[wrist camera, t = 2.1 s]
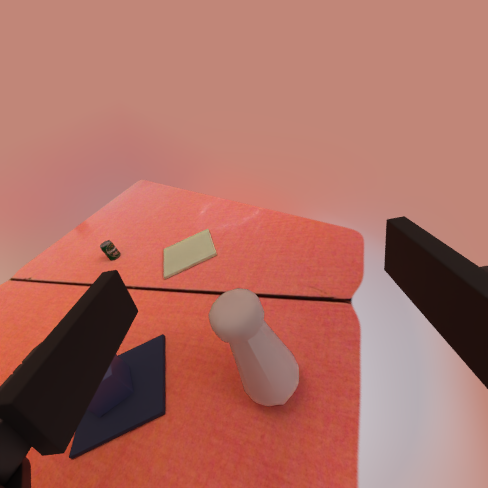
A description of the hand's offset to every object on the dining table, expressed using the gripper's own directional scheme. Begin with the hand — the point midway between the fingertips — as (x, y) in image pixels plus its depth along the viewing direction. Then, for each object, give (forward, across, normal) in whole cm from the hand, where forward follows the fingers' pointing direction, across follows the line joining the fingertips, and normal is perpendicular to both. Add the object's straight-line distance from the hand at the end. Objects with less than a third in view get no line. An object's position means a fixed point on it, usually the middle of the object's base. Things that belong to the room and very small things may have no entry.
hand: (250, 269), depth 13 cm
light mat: (+36, -16, -17) cm, 43 cm away
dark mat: (+10, -20, -21) cm, 31 cm away
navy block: (+10, -21, -20) cm, 31 cm away
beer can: (+46, -37, -19) cm, 62 cm away
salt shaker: (+6, -1, -19) cm, 20 cm away
